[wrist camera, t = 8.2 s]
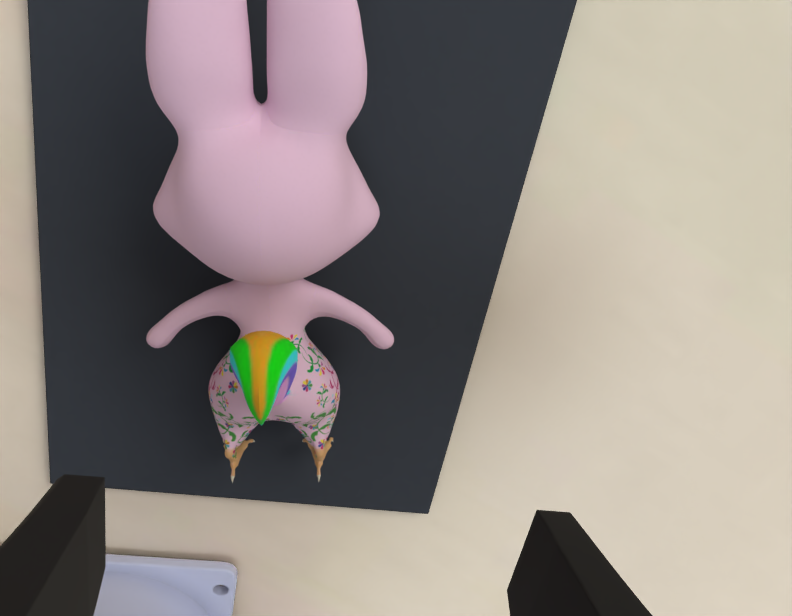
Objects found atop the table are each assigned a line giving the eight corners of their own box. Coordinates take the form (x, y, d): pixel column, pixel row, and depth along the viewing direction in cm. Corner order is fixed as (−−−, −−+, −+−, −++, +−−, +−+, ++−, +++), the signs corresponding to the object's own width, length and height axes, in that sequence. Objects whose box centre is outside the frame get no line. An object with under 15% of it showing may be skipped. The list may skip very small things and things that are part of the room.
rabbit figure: (379, 400, 24) (422, -131, 15) (391, 567, 20) (465, -45, 10) (180, 400, 24) (90, -154, 14) (145, 573, 19) (-24, -72, 10)
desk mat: (427, 507, 25) (428, 514, 25) (53, 477, 23) (49, 483, 23) (626, -187, 16) (631, -188, 15) (16, -338, 14) (11, -342, 14)
